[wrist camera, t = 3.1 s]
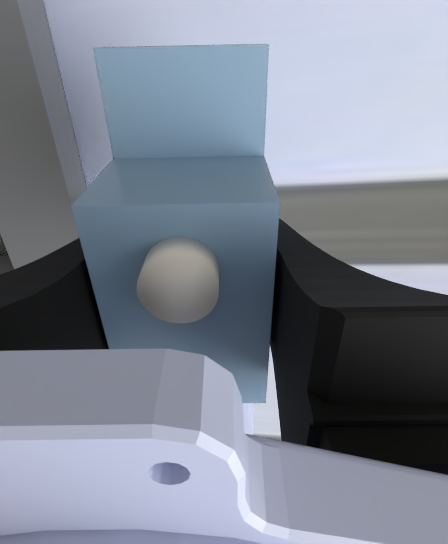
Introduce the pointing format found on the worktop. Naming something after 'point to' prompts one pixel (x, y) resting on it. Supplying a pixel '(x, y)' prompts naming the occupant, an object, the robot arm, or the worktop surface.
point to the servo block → (185, 206)
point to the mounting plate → (34, 140)
